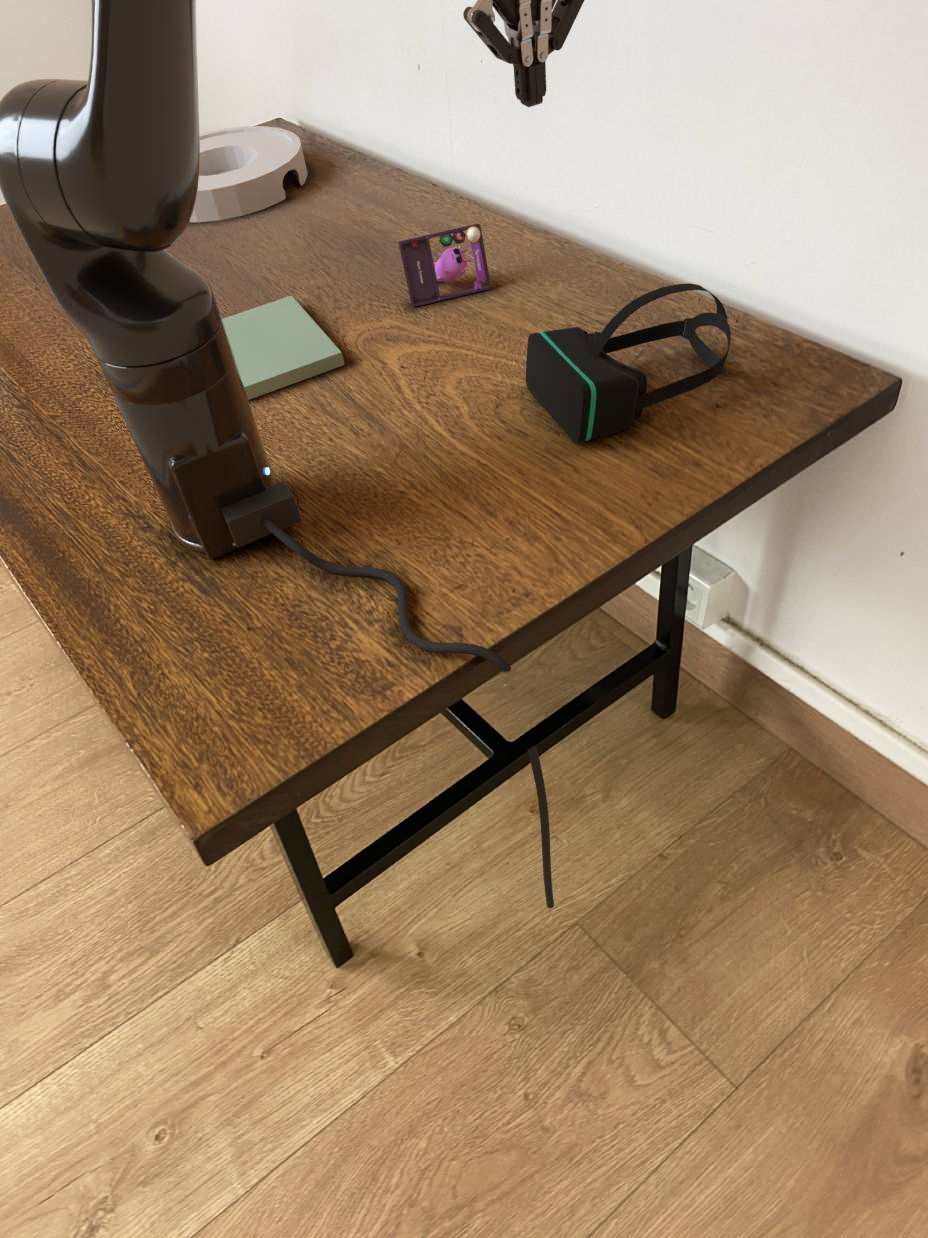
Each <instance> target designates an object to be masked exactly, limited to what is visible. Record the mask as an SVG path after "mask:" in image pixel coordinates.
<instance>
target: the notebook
mask: <svg viewBox="0 0 928 1238" xmlns="http://www.w3.org/2000/svg"><path fill="white" fill-rule="evenodd" d="M222 321H223V324H224V327H225V330H226V333H227V336H228V339H229V342H230V345H231V348H232V351H233V355H234V358H235V361H236V364H237V367H238V370H239V373H240V376H241V379H242V382H243V385H244V388H245V391H246V394H247V397H248V400H249V401H250V400H253V399H256V398H258V397H261V396H264V395H267V394H269V393H272V392H275V391H277V390H280V389H283V388H285V387H288V386H291V385H294V384H297V383H299V382H302V381H305V380H308V379H311V378H313V377H316V376H318V375H321V374H324V373H326V372H327V373H328V372H329V371H332V370H335V369H337V368H340V367H343V366H345V361H344V355H343V352H342V351H341V350H340V348H339V347H338V346H337V345H336V344H335V343H334V342H333V341H332V339H330V337H329V336H328V335H327V334H326V333H325V332H324V330H323V329H322V328H321V327H320V326H319V325H318V323H316V321H315V320H314V319H313V318H312V317H311V316H310V315H309V314H308V312H307V311H306V310H305V309H304V307H302V306H301V305H300V304H299V302H298V301H297V299H296V298H294V297H293V295H289V296H286V297H283V298H280V299H277V300H273V301H271V302H268V303H265V304H262V305H259V306H256V307H253V308H250V309H247V310H245V311H241V312H239V313H235V314H233V315H229V316H227V317H224V318H222Z"/></svg>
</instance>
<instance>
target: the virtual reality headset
mask: <svg viewBox="0 0 928 1238" xmlns="http://www.w3.org/2000/svg"><path fill="white" fill-rule="evenodd" d="M687 291H701V292H706V293H709V295H710V296H711V297H712V298H713V300H714V302H715V306H716V312H709V311H708V312H702V313H701V312H700V313H699V314H696V315H695V316H694V317H685V318H684V319H683V320H676V321H670V322H665V323H662V324H658V325H654V326H653V325H652V326H650V327H646V328H642V329H639V330H634V331H631V332H627V333H624V334H621V335H617V336H613V335H614V333H615V332H616V331H617V329H618V328H619V327H620V326H621V325H622V324H623V323H624V322H625V321H626V320H627V319H628V318H629V317H630V316H631V315H632V314H633V313H636V312H637V311H638V310H639V309H641V308H642V307H644V306H646V305H648V304H649V303H651V302H653V301H656V300H659V299H661V298H664V297H666V296H668V295H672V294H673V295H674V294H676V293H681V292H687ZM700 327H716V328H718V329H719V330H720V331H722V332H723V333H724V334H725V336H726V339H727V350H726V352H725V354H724V356H723V357H721V356H720V355H718V354H717V353H715V352H714V351H713V350H712V349H711V348H710V347H709V346H708V345H707V344H706V343H705V342H704V341H703V340H702V339H701V337H699V336H698V334H697V331H696V330H697V329H698V328H700ZM731 332H732V331H731V328H730V323H729V322H728V316H727V313H726V309H725V306H724V305H723V303H722V301H721V300H720V299H719V298H718V296H716V295H714V294H713V293H712V292H711V291H709V290H708V289H706V288H705V287H703V286H701V284H696V283H695V284H694V283H689V282H688V283H678V284H672V285H671V284H670V285H666V286H663V287H662V286H661V287H659V288H656V289H653V290H651V291H649V292H647V293H644V294H642V295H640V296H638V297H637V298H634V299H633V300H631V301H630V302H628V303H627V304H626V305H625V306H624V307H622V308H621V309H620V310H619V311H618V312H617V313H616V314H615V315H614V316H613V317H612V318H611V319H610V320H609V322H608V323H607V324H606V325H605V327H604V328H603V329H602V330H601V332H600V331H594V333H588V331H586V330H585V329H583V328H581V327H579V326H574V327H567V328H560V329H553V330H547V331H540V332H539V331H538V332H531V333H530V334H529V335H528V339H527V348H526V361H525V384H526V389H527V390H528V391H529V393H530V394H531V395H532V396H533V397H534V398H535V399H536V401H537V402H538V403H539V404H540V406H541V407H543V409H544V410H545V411H546V412H547V414H549V416H550V417H551V419H553V420H554V422H555V423H556V424H557V425H558V426H559V428H561V429H562V431H563V432H564V433H565V434H566V435H567V437H569V439H570V440H571V441H572V442H573V443H574V444H579V443H584V442H587V441H591V440H595V439H598V438H603V437H605V436H609V435H613V434H617V433H620V432H624V431H627V430H629V429H630V428H631V426H632V423H633V421H635V420H637V419H639V418H641V416H642V414H643V410H644V409H646V408H649V407H651V406H654V405H657V404H659V403H662V402H664V401H667V400H670V399H672V398H675V397H678V396H680V395H682V394H685V393H688V392H691V391H694V390H696V389H697V388H700V387H702V386H703V385H705V384H708V383H710V382H711V381H712V380H713V379H715V378H716V377H717V376H718V375H720V373H721V372H722V371H723V370H724V366H725V364H726V362H727V359H728V356H729V353H730V347H731V337H732V334H731ZM674 337H682V338H683V339H685V340H688V341H689V344H690V346H691V348H692V350H694V352H695V354H696V355H697V356H698V358H699V359H700V360H701V361H702V362H703V363H704V364H705V365H706V366H708V368H706V370H703V371H701V372H698V373H695V374H693V375H690V376H687V377H684V378H681V379H679V380H676V381H673V382H671V383H668V384H665V385H663V386H661V387H658V388H655V389H653V390H650V391H647V385H648V376H647V375H646V374H645V373H644V372H643V371H641V370H640V369H637V368H634V367H632V366H630V365H627V364H624V363H623V362H620V361H618V360H617V359H614V358H613V357H611V356H610V355H609V353H614V352H617V351H621V350H625V349H628V348H632V347H635V346H639V345H643V344H646V343H652V342H655V341H656V342H657V341H660V340H665V339H669V338H674Z"/></svg>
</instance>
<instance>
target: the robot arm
mask: <svg viewBox="0 0 928 1238" xmlns="http://www.w3.org/2000/svg"><path fill="white" fill-rule="evenodd" d="M584 2H585V0H477V1H476V2H475V4H474V5H473V6H466V7H465V9H464V10H463V19H464V21H465V22H466V23H467V24H468V26H469V27H470V28H471V29H472V30H473V32H474V33H475V34H476V35H477V36H478V38H479V39H480V40H481V41H482V42H483V44H484V45H485V46H486V47H487V49H488V50H489V51H490V52H491V54H492V55H493V56H494V58H496V59H498V60H500V61H502V62H505V63H507V64H510V65H512V66H513V78H514V79H513V80H514V95H515V97H516V99H517V100H519V102H520V104H521V105H523V106H525V107H527V108H531V107H535V106H538V105H541V104H543V102H544V97H545V96H546V95H547V94H546V93H547V69H546V68H547V67H546V66H547V65H546V61H547V59H548V58H549V55H551V54H552V53H553V52H554V51H560V50H561V49H562V48H563V47H564V44H565V42H566V41H567V40H566V39H567V38H568V36H569V34H570V31H571V29H572V27H573V26H574V23H575V21H576V20H577V18H578V15H579V13H580V10H581V8H582V7H583V4H584ZM493 9H494V10H495V11H496V13H497V14H498V16H499V17H500V19H501V20H503V27H504V32H505V35H506V37H507V38H506V37H505V36H504V35H503V34H502V32H501V31H500V30H499V28H498V27H497V26H496V25H495V21H496V15H495V12H494V10H493ZM197 36H198V35H197V0H91V43H90V60H89V70H88V77H87V78H88V79H87V80H84V79H82V80H81V79H66V78H65V79H64V78H62V79H60V78H38V79H37V78H36V79H32V80H27V81H24V82H22V83H19V84H17V85H16V86H14V87H12V88H11V89H10V90H9V91H7V92H6V93H5V94H4V95H3V97H2V98H1V100H0V192H1V194H2V197H3V200H4V202H5V204H6V206H7V208H8V210H9V213H10V215H11V217H12V220H13V221H14V223H15V225H16V227H17V229H18V231H19V233H20V235H21V237H22V239H23V241H24V243H25V245H26V246H27V248H28V250H29V252H30V254H31V256H32V258H33V260H34V262H35V263H36V265H37V268H38V269H39V271H40V274H41V275H42V277H43V279H44V281H45V282H46V284H47V286H48V288H49V291H50V292H51V295H52V296H53V298H54V300H55V301H56V303H57V305H58V306H59V308H60V310H61V312H62V313H63V314H64V315H65V316H66V317H67V319H68V320H69V321H70V322H71V324H72V325H74V326H75V328H77V329H78V330H79V331H80V332H81V333H82V334H83V336H85V338H86V340H87V341H88V343H89V345H90V347H91V350H92V352H93V354H94V356H95V358H96V360H97V363H98V365H99V367H100V370H101V371H102V374H103V376H104V378H105V380H106V382H107V384H108V386H109V389H110V392H111V394H112V396H113V398H114V401H115V403H116V405H117V407H118V410H119V412H120V414H121V416H122V418H123V421H124V422H125V425H126V427H127V429H128V431H129V433H130V435H131V438H132V440H133V442H134V444H135V447H136V449H137V452H138V453H139V455H140V458H141V460H142V462H143V464H144V467H145V469H146V471H147V474H148V476H149V478H150V480H151V482H152V484H153V486H154V488H155V490H156V493H157V495H158V498H159V500H160V502H161V504H162V505H163V507H164V510H165V512H166V514H167V517H168V519H169V520H170V522H171V528H172V531H173V533H174V535H175V537H176V539H177V540H178V542H179V543H181V545H183V546H184V547H185V548H188V549H190V550H193V551H195V552H200V553H204V554H205V555H206V556H207V558H208V559H209V560H214V559H216V558H219V557H222V556H225V555H226V554H229V553H231V552H235V551H237V550H239V549H242V548H244V547H248V546H249V545H251V544H253V543H256V542H258V541H261V540H263V539H265V538H268V537H270V536H275V537H276V538H277V539H278V540H279V541H281V542H282V543H283V544H284V545H285V546H287V547H288V548H289V549H290V550H292V551H293V552H295V553H296V554H297V555H298V556H300V557H301V558H303V559H304V560H305V561H307V562H308V563H310V564H311V565H313V566H314V567H317V568H318V569H321V570H323V571H325V572H327V573H331V574H334V575H338V576H339V575H340V576H348V577H367V578H376V579H379V580H380V579H381V580H383V581H385V582H387V583H389V584H390V586H392V587H393V588H394V590H395V592H396V594H397V600H398V620H399V621H398V622H399V627H400V630H401V634H403V636H404V637H405V639H406V640H408V642H410V643H411V645H413V646H415V647H417V648H418V649H421V650H423V651H426V652H431V653H435V654H436V653H437V654H460V655H461V654H463V655H470V656H476V657H480V658H482V659H484V660H486V661H488V662H489V663H490V664H492V665H494V667H496V668H497V669H498V670H499V671H501V672H502V673H509V672H511V670H512V666H511V665H510V664H509V663H508V662H507V661H506V660H505V658H503V657H501V656H500V655H499V654H498V653H496V652H494V651H493V650H491V649H489V648H487V647H485V646H482V645H478V644H474V643H468V642H467V643H466V642H437V641H431V640H427V639H425V638H422V637H421V636H419V635H418V634H417V633H416V632H415V631H414V630H413V628H412V626H411V624H410V618H409V598H408V596H409V595H408V591H407V589H406V586H405V584H404V583H403V581H402V580H401V579H400V578H399V577H397V576H396V575H394V574H393V573H391V572H390V571H387V570H385V569H381V568H377V567H369V566H368V567H367V566H348V565H340V564H336V563H332V562H330V561H327V560H324V559H323V558H321V557H319V556H317V555H316V554H315V553H313V552H312V551H310V550H309V549H308V548H307V547H305V546H304V545H302V544H301V543H299V542H298V541H297V540H295V539H294V537H293V538H292V536H290V535H289V534H288V533H287V532H286V531H284V529H287V528H289V527H291V526H294V525H297V524H299V523H301V522H302V520H301V516H300V512H299V510H298V506H297V503H296V500H295V497H294V495H293V493H292V491H291V490H290V488H289V486H288V485H287V484H286V483H285V481H284V480H282V481H280V482H276V479H275V476H274V472H273V469H272V466H271V462H270V461H269V458H268V454H267V451H266V449H265V445H264V443H263V439H262V437H261V434H260V431H259V428H258V425H257V421H256V419H255V415H254V413H253V409H252V406H251V404H250V400H248V397H247V394H246V391H245V388H244V385H243V382H242V379H241V376H240V373H239V370H238V367H237V364H236V361H235V358H234V355H233V351H232V348H231V345H230V342H229V339H228V336H227V333H226V330H225V327H224V324H223V321H222V319H223V318H222V316H221V312H220V309H219V306H218V302H217V300H216V297H215V294H214V292H213V289H212V287H211V285H210V283H208V281H207V280H206V278H205V277H204V276H202V274H201V273H199V272H198V271H197V270H195V269H194V268H193V267H191V266H189V265H187V264H186V263H184V262H183V261H181V260H179V259H178V258H176V257H175V256H174V255H173V254H172V253H170V252H168V250H166V249H169V248H170V247H171V246H172V245H174V244H175V243H176V242H178V240H179V239H180V238H181V237H182V235H183V234H184V232H185V231H186V230H187V228H188V225H189V223H190V218H191V216H192V213H193V210H194V205H195V200H196V195H197V190H198V180H199V160H200V139H199V134H200V107H199V106H200V105H199V75H198V74H199V73H198V42H197V41H198V40H197ZM507 39H508V40H507ZM537 748H538V747H537V745H534V746H531V747H530V748H528V749H527V754H528V758H529V762H530V766H531V770H532V775H533V780H534V784H535V789H536V791H535V792H536V796H537V804H538V811H539V822H540V823H539V824H540V835H541V838H540V839H541V855H542V856H541V857H542V873H543V874H542V875H543V886H544V894H545V902H546V907H547V908H548V909H553V908H554V907H555V901H554V893H553V892H554V891H553V881H552V880H553V879H552V861H551V859H552V858H551V837H550V836H551V834H550V832H551V831H550V829H551V828H550V816H549V807H548V798H547V792H546V785H545V780H544V775H543V770H542V765H541V761H540V755H539V752H538V749H537Z"/></svg>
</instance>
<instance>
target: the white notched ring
mask: <svg viewBox="0 0 928 1238" xmlns="http://www.w3.org/2000/svg"><path fill="white" fill-rule="evenodd" d="M199 139H200V160H199V180H198V190H197V195H196V200H195V205H194V210H193V213H192V216H191V218H190V221H189V223H206V222H207V223H208V222H219V221H224V220H229V219H233V218H239V217H243V216H246V215H249V214H252V213H255V212H260V211H262V210H265V209H268V208H270V207H272V206H274V205H277V204H278V203H280V202H283V201H284V200H285V199H286V197H287V196H286V193H287V192H286V190H285V189H284V184H283V183H284V182H283V181H284V178H285V176H286V174H287V173H289V172H290V171H291V173H292V174H293V176H294V178H295V179H296V180H297V182H298V183H299V185H300V186H301V187H302V186H303V185H304V184H305V183H306V180H307V178H308V175H309V174H308V168H307V165H306V160H305V156H304V155H305V154H304V151H303V146H302V143H301V140H300V137H299V136H298V135H296V134H295V133H294V132H292V131H290V130H287V129H284V128H281V127H275V126H266V125H244V126H236V127H227V128H226V127H225V128H222V129H217V130H211V131H206V132H203V133H199Z"/></svg>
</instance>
